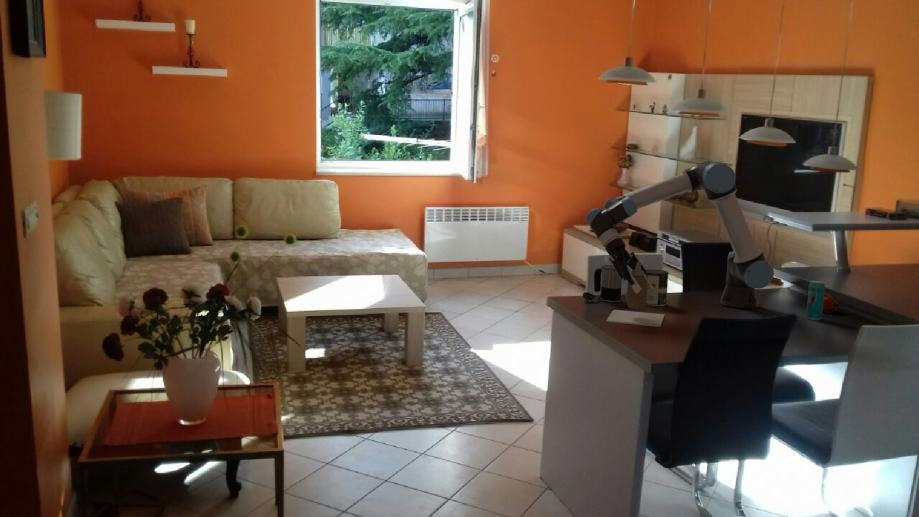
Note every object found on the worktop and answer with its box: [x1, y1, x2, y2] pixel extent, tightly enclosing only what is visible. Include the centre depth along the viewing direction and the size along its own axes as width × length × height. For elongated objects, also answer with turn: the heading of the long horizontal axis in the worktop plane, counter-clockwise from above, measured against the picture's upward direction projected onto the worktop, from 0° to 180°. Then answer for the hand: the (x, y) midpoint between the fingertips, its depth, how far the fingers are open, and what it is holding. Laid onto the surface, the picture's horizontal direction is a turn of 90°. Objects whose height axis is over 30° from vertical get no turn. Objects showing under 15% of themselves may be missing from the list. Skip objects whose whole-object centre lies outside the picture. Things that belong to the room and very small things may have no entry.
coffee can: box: [645, 269, 670, 307], centre depth 340 cm, size 10×10×14 cm
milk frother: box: [582, 264, 623, 301], centre depth 344 cm, size 14×16×15 cm
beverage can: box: [806, 280, 826, 321], centre depth 319 cm, size 6×6×15 cm
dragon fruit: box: [823, 291, 840, 313], centre depth 334 cm, size 8×8×12 cm
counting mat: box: [605, 309, 666, 328], centre depth 313 cm, size 20×20×1 cm
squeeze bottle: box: [625, 260, 647, 310], centre depth 311 cm, size 8×8×18 cm
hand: (644, 290), depth 309 cm, fingers closed on squeeze bottle, 6 cm apart
